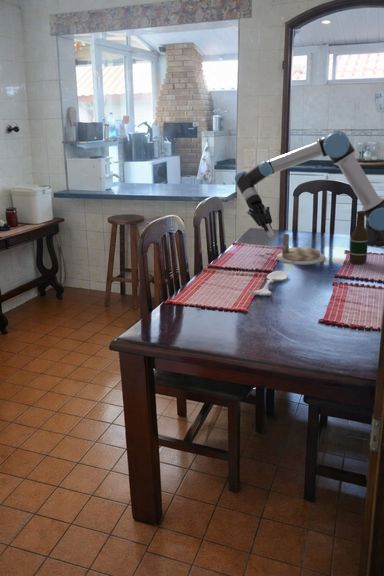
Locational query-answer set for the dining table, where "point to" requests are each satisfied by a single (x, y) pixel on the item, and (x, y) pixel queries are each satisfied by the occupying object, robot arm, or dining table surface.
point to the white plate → (301, 261)
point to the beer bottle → (359, 241)
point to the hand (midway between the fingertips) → (272, 235)
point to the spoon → (272, 277)
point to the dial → (298, 251)
